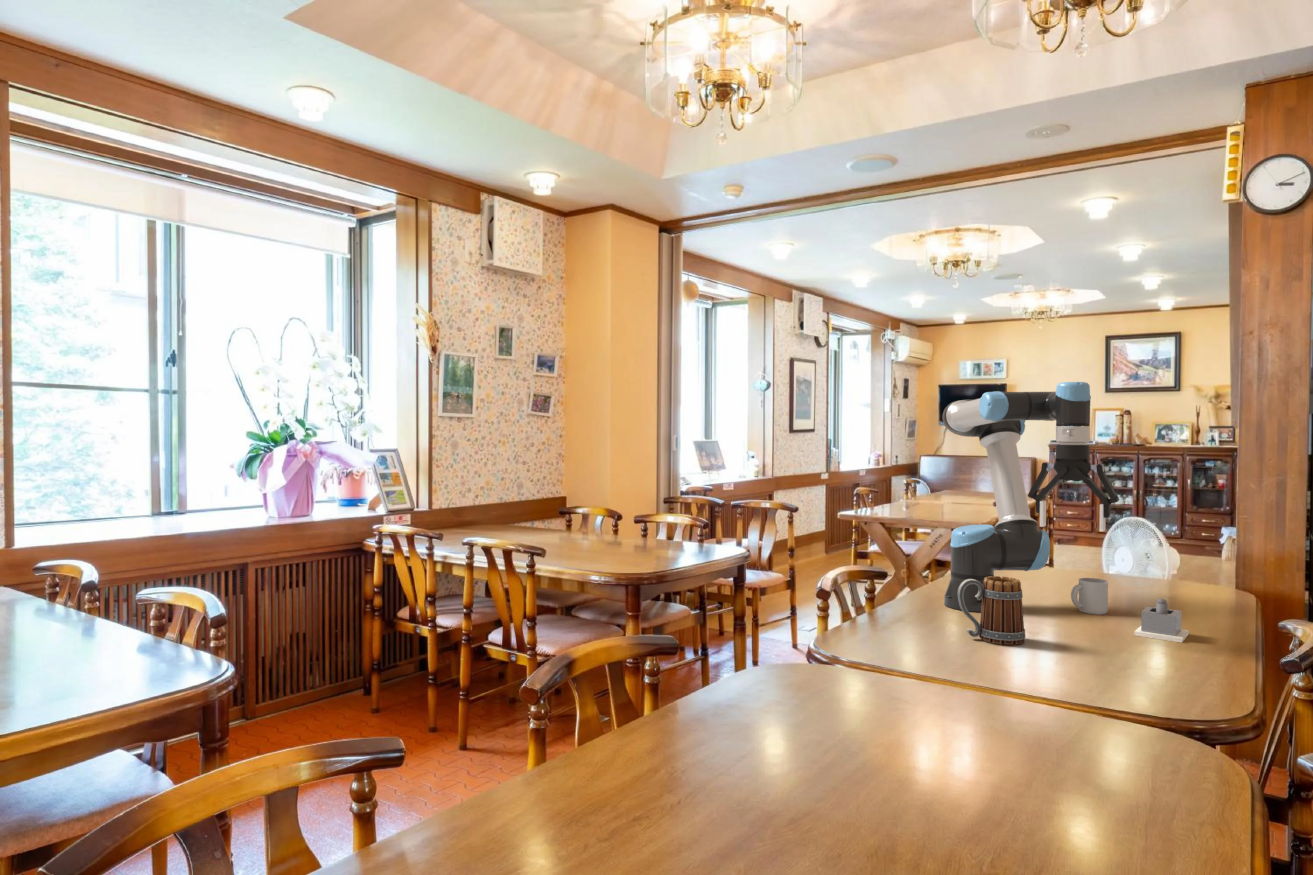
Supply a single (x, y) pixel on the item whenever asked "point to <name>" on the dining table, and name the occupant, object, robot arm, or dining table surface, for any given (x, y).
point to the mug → (997, 610)
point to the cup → (1091, 596)
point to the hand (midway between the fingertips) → (1071, 528)
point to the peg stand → (1162, 608)
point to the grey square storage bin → (1161, 621)
